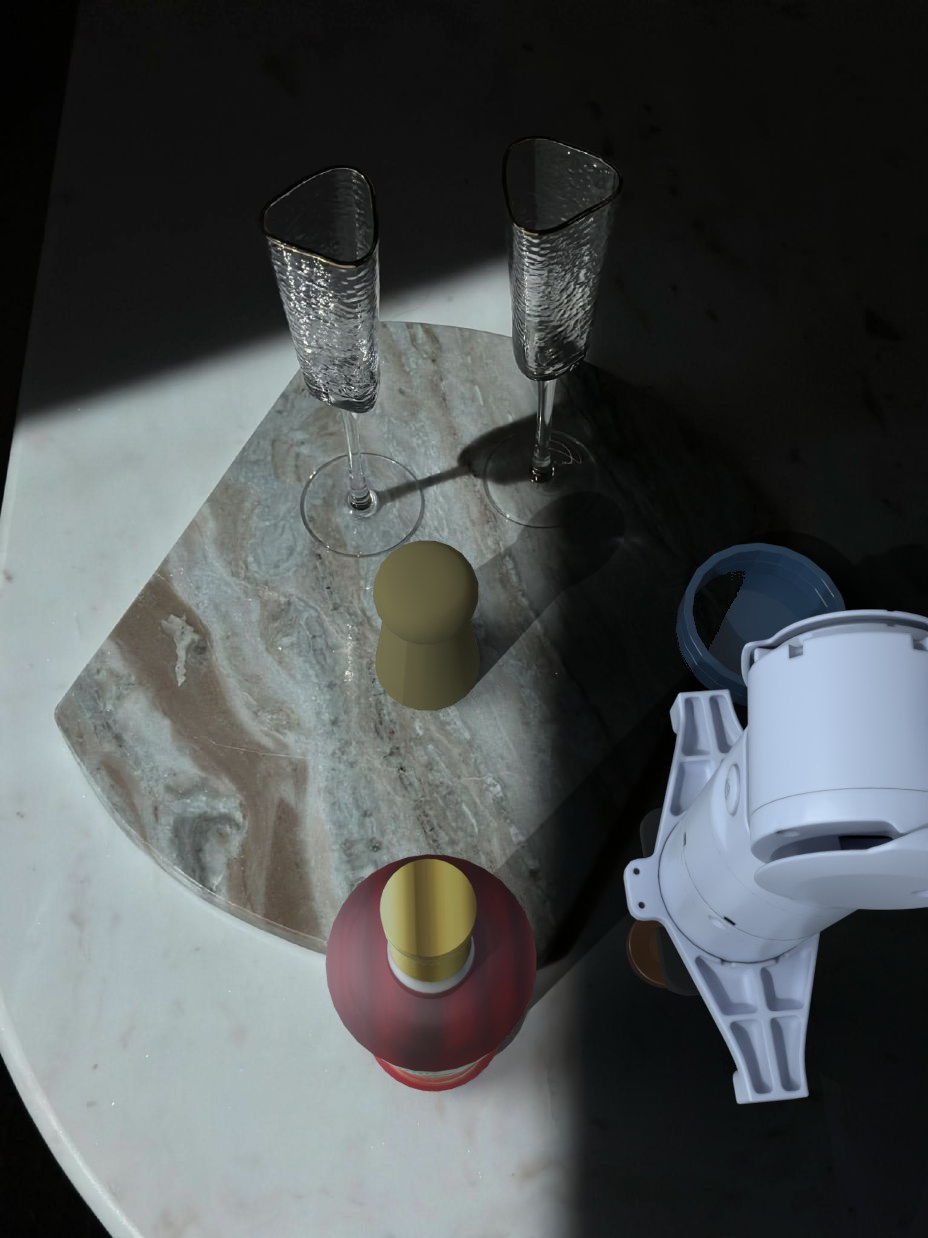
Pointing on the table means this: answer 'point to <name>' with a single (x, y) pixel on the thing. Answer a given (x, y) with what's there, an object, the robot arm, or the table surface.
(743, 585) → the bowl
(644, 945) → the pestle
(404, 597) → the cork
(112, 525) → the table surface
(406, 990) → the liquor
